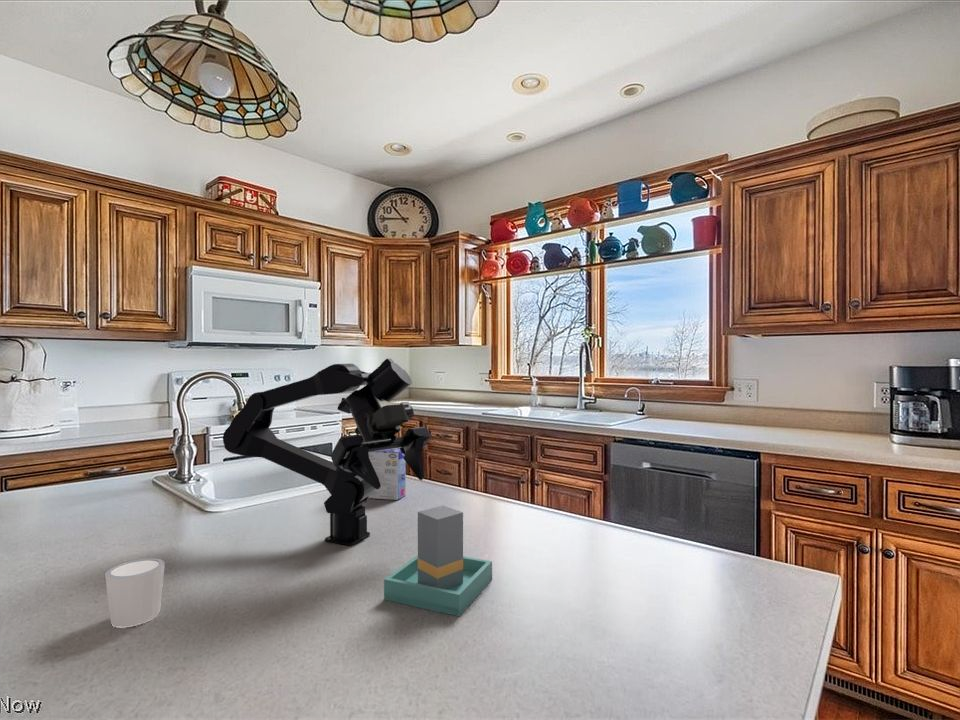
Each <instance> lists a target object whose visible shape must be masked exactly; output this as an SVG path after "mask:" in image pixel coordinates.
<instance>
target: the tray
mask: <svg viewBox="0 0 960 720" xmlns="http://www.w3.org/2000/svg"><path fill="white" fill-rule="evenodd" d="M492 581H493V561H492V560H488V559H481V558H475V557H470V556H464V555H463V583H462V584H460V585H457V586H455V587H452V588H450V589H447V590H446V589H441V588H436V587H431V586H426V585H422V584H420V583H418V554H416V556H414V557H413V558H411V559H410V560H408V561H407V562H406V563H404V564H403V565H401V567H398V568H397V570H395V571H393V572H392V573H390V574H389V575H388V576H386V577H385V578H384V579H383V599H384V600H386V601H389V602H394V603H399V604H402V605H403V604H404V605H406V606H407V605H408V606H412V607H416V608H420V609H426V610H429V611H433V612H439V613H443V614H448V615H450V616H456V617H460V616H461V615H462V614H463V613H464V612H465V610H466V609H468V607H469V606H470V605H471V604H472V603H473V602H474V601H475V599H476V598H477V597H478V596H479V595H480V594H481V593H482V592H483V591H484V589H486V587H487V586H488V585H489V584H490V583H491V582H492Z"/></svg>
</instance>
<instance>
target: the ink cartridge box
mask: <svg viewBox="0 0 960 720" xmlns="http://www.w3.org/2000/svg"><path fill="white" fill-rule="evenodd" d="M368 453H369V459H370V461H371V463H372V465H373V468H374V470H375V472H376V474H377V476H378V479H379V481H380V485H381V487H380V488H379V489H375V490H374V492H373V493H372V494H370V495H369V497H368V499H378V500H393V501H394V500H395V501H398V500H400V499H402V498H403V497H406V494H407V492H406V490H407V489H406V481H407V480H406V478H407V477H406V473H407V471H406V470H407V469H406V465H407V463H406V461H405V460H404V458H403V457H404V456H405V455H404V454H403V453H402V452H401V450H400V448H397V449H390V450H383V451H372V452H368Z"/></svg>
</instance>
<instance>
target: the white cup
mask: <svg viewBox="0 0 960 720" xmlns="http://www.w3.org/2000/svg"><path fill="white" fill-rule="evenodd" d="M165 565H166V563H165V561H164V559H160V558H139V559H134V560H130V561H127V562H124V563H120V564H117V565H115V566H113V567H111V568H109V569H108V570H107V571H106V572H105V573H104V575H105V576H104V577H105V585H106V592H107V600H108V601H107V602H108V608H109V610H108V611H109V617H110V625H111V624H113V625H114V626H122V627H123V626H130V625H135V624H138V623H142V622H145V621H147V620H149V619H152V618H153V617H155V616H156V615H158V613H159V612H160V613H161V606H162V605H161V604H162V596H163V595H162V594H163V585H164V578H165V577H164V575H165ZM158 616H159V615H158Z"/></svg>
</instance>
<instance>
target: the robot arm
mask: <svg viewBox="0 0 960 720" xmlns="http://www.w3.org/2000/svg"><path fill="white" fill-rule="evenodd" d="M412 383H413V381H412V378H411V376H410V375H409V374H408V372H407V371H406V370H405V369H404V368H402V367H401V366H400V365H399V364H398V363H396V362H395V361H394V360H393V359H392V358H385V359H384V361H382V362H381V364H379V366H378V367H376V368H375V369H374V370H373V371H372V372H365V371H362V370H361V369H360V368H359V366H357V365H355V364H354V363H334V364H333V363H332V364H330V365H329V366H327V367H325V368H323V369H321V370H319V371H318V372H316V373H315V374H313V375H312V376H310V377H308V378H305V379H302V380H298V381H294V382H291V383H288V384H284V385H281V386H277V387H274V388H271V389H268V390H265V391H257V392H253V393H252V394H251V395H249V397H248V398H247V401H246V402H245V404H244V406H242V408H241V409H240V411H238V413H237V414H236V415H235V416H234V417H233V419H232V420H231V422H230V424H229V425H228V426H227V428H226V429H225V430H224V432H223V434H222V442H223V446H224V449H225V450H226V451H227V452H228V453H230V454H234V455H238V456H243V457H251V458H260V459H265V460H267V461H270V462H271V463H274V464H276V465H278V466H281V467H283V468H285V469H287V470H289V471H291V472H294V473H296V474H299V475H300V476H302V477H306V478H308V479H310V480H312V481H315V482H316V483H318V484H321V485H323V486H324V487H325V488H326V490H327V492H328V493H329V494H330V496H329V497H328V498H327V499H326V500H325V501H324V502H323V505H324V508H325V510H326V513H327V514H329V536H326V537H324V542H329V543H335V544H340V545H345V546H346V545H347V546H353V545H355V544H357V543H358V542H360V541H362V540H364V539H365V538H367V537H369V536H371V532H369V531H368V515H367V514H366V506H363V505H364V504H365V503H367V502H368V500H369V498H368V497H369V495H370V494H372V493H373V492H374V490H375V489H379V488H380V487H381V485H380V481H379V479H378V476H377V474H376V472H375V470H374V468H373V465H372V463H371V461H370V459H369V453H368V452H372V451H383V450H390V449H400V450H401V452H402V453H403V454H404V455H405V456H404V457H403V458H404V460H405V461H406V465H407V466H408V467H409V468H410V469H411V471H412V472H413V474H414V476H416V478H417V479H418V480H419V481H423V480H424V478H425V472H424V464H423V449H424V448H425V446H426V445H427V443H428V442H430V441H429V440H431V437H432V435H431V433H430V431H429V429H428V428H427V427H426V426H418V427H412V428H411V427H409V428H408V429H407V430H406V431H405V433H404V435H403V436H398V437H397V436H396V434H398V433H399V432H400V431H401V425H402V424H404V423H407V422H409V420H411V419H412V418H413V417H414V415H415V411H414V409H413V406H412V405H411V403H410V402H409V401H401V402H400V404H399V403H398V404H387V405H384V406H381V403H380V402H384V401H385V402H388V403H390V402H392V401H393V400H394V399H395V398H396V397H398V396H399V395H400V394H401V393H403V392H404V391H405V390H406V389H407V388H408V387H410V386H411V385H412ZM361 386H363V387H362V388H360V387H361ZM349 392H350V393H349ZM342 393H349V395H348V396H346V397H342V398H341V400H340V402H339V403H338V406H337V410H338V411H340V412H342V413H346V414H348V415H349V414H351V416H352V418H353V421H354V423H355V425H356V428H355V429H354V432H355V434H353V435H352V434H350V435H344V436H343V435H342V436H340V437H339V439H338V441H337V442H336V444H335V447H333V450H332V452H331V455H330V458H331V460H332V461H330V460H328V459H325V458H324V457H321V456H320V455H316V454H314V453H312V452H309V451H307V450H304V449H302V448H300V447H299V446H298V447H297V446H296V445H293V444H291V443H289V442H286V441H284V440H281V439H279V438H278V437H277V436H276V435H275V433H274V432H273V431H272V429H271V428H270V427H271V425H272V422H273V415H274V414H273V413H274V410H275V409H276V408H279V407H281V406H286V405H289V404H292V403H295V402H298V401H302V400H305V399H309V398H313V397H316V396H322V395H323V396H325V395H335V394H336V395H337V394H342ZM379 401H380V402H379Z"/></svg>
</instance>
